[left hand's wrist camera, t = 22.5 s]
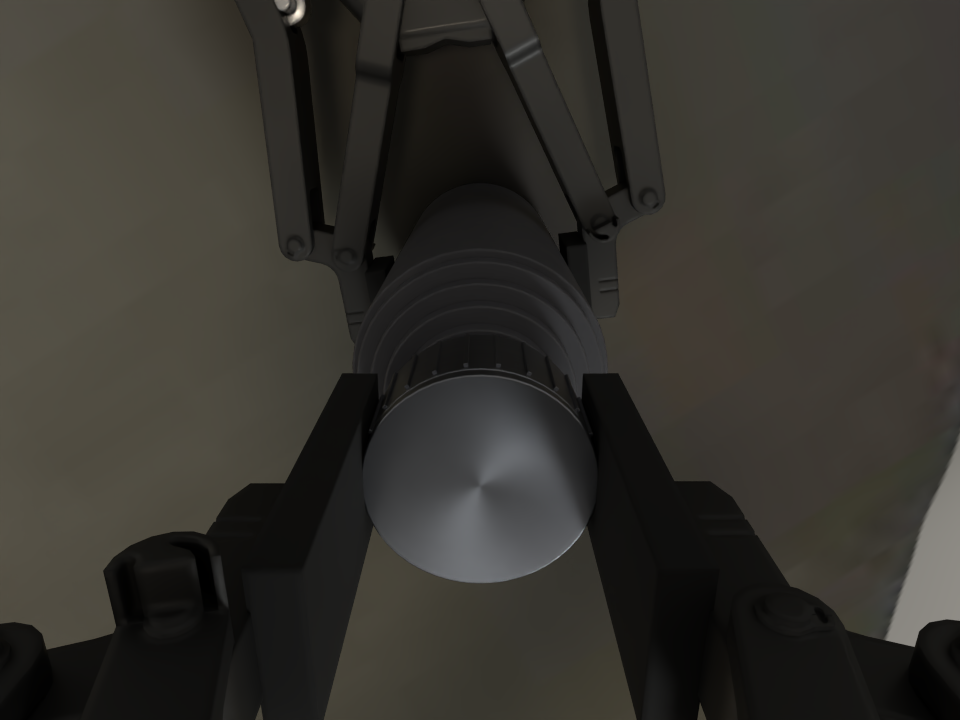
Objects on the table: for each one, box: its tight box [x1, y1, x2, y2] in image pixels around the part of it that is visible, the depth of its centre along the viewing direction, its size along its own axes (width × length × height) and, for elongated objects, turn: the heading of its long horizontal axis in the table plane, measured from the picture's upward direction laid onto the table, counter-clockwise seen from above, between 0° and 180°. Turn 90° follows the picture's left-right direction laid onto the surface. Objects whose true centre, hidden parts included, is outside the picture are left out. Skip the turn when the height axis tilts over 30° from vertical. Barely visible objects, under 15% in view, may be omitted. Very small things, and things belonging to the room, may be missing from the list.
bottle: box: [353, 183, 608, 399], centre depth 23 cm, size 7×7×21 cm
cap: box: [362, 334, 598, 583], centre depth 14 cm, size 5×5×2 cm
